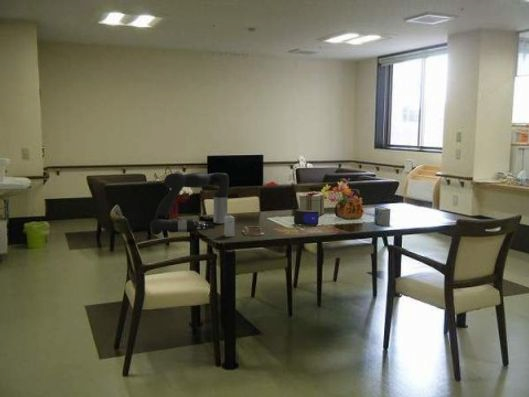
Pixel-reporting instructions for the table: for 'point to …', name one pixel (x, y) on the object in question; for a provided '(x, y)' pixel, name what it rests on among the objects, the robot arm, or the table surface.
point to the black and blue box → (306, 217)
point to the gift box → (312, 202)
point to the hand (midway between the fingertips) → (213, 225)
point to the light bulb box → (382, 216)
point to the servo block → (229, 226)
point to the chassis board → (253, 231)
